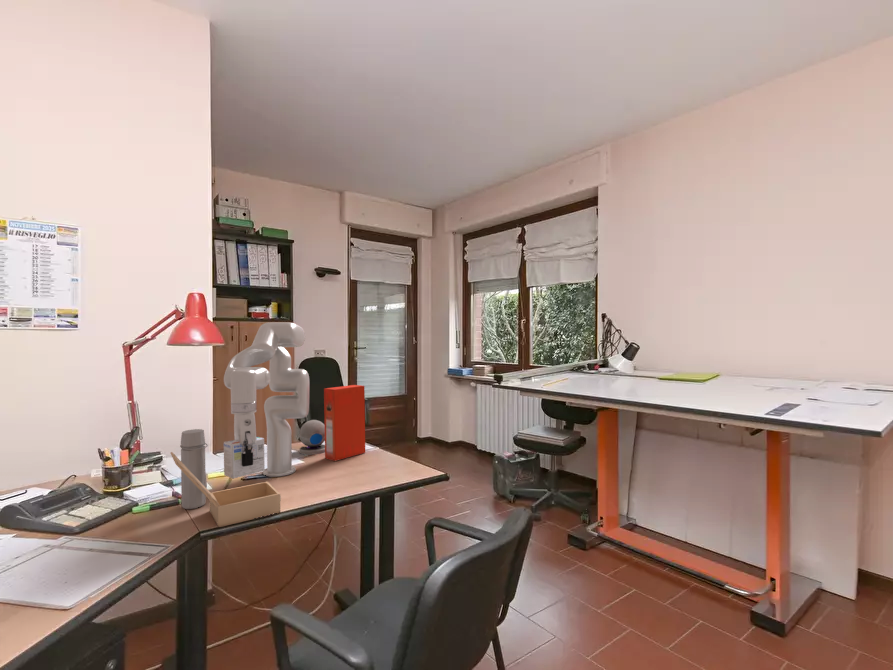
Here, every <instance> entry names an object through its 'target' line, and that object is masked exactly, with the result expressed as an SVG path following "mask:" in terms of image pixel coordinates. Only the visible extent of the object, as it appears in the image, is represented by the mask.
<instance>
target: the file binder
mask: <svg viewBox="0 0 893 670" xmlns="http://www.w3.org/2000/svg"><path fill="white" fill-rule="evenodd" d="M365 393H366V392H365V385H360V384H359V385H358V384H350V385H344V386H343V385H342V386H335V387H327V388H325V387H324V388H323V399H324V400H323V404H324V406H323V408H324V410H323V412H324V425H325V441H324V445H325V452H324V458H325V459H326V460H329V461H334V462H337V461H339V460H343V459H347V458H350V457H355V456H357V455H361V454H365V453H366V415H365V414H366V410H365V409H366V404H365V402H366V400H365Z"/></svg>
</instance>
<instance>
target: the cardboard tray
mask: <svg viewBox="0 0 893 670" xmlns="http://www.w3.org/2000/svg"><path fill="white" fill-rule="evenodd" d="M210 493H211V495H212V497H213V498H214V500H215V502H216V503H217V505H218V507H216V506H215V505H214V504H213V503H212V502H211V501H210V500H209V513H210V512H211V513H210V514H211V516H212V518H213V520H214V522H215V524H216V525H217V527H218V528H222V527H226V526H230V525H233V524H239V523H242V522H247V521H250V520H255V519H254V518H256V519H258V518H257V517H260V518H262V517H261V516H264V517H267V516H266V515H268V516H270V515H269V514H272V515H274V514H273V513H277V514H279V513H278V512H280V513H281V499H282V497H281V493H280V492H279V491H278V490H277V489H276V488H275V487H274V486H273V485H272V484H271V483H270V482H269V481H264V482H258V483H253V484H247V485H243V486H239V487H232V488H228V489H222V490H217V491H212V492H210Z"/></svg>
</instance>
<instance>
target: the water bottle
mask: <svg viewBox="0 0 893 670" xmlns="http://www.w3.org/2000/svg"><path fill="white" fill-rule="evenodd" d="M205 437H206V435H205V430H204V429H202V428H201V429H200V428H199V429H197V428H195V429H194V428H193V429H188V430H184V431H181V437H180V444H179V445H180V446H179V448H180V461H181V462H182V463H183V464H184V465H185V466H186V467H187V468H188V469H189V470H190V472H191V473H192V474H193V475H194V476H195V477H196V478H197V479H198V480H199V481H200V482H201V483H202V484H203V485H204V486H205V487H206V489H207V490H208V483H207V475H206V474H207V472H206V448H208V444H207V443H206V439H205ZM180 478H181V479H180V480H181V482H180V484H181V485H180V486H181V487H180V488H181V491H180V492H181V507H182V508H183V509H185V510H193V509H194V510H195V509H198V507H199V508H201V507H203V506H204V505H206V502H207V500H206V499H207V497H206V496H205V495H204V494H203V493H202V491H201V490H200V489H199V488H198V487H197V486H196V485H195V484H194V483H193V482H192V481H191V480H190V479H189V478H188V477H187V476H186V475H185V474H184V472H183V471H182V470H181V469H180Z"/></svg>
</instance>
